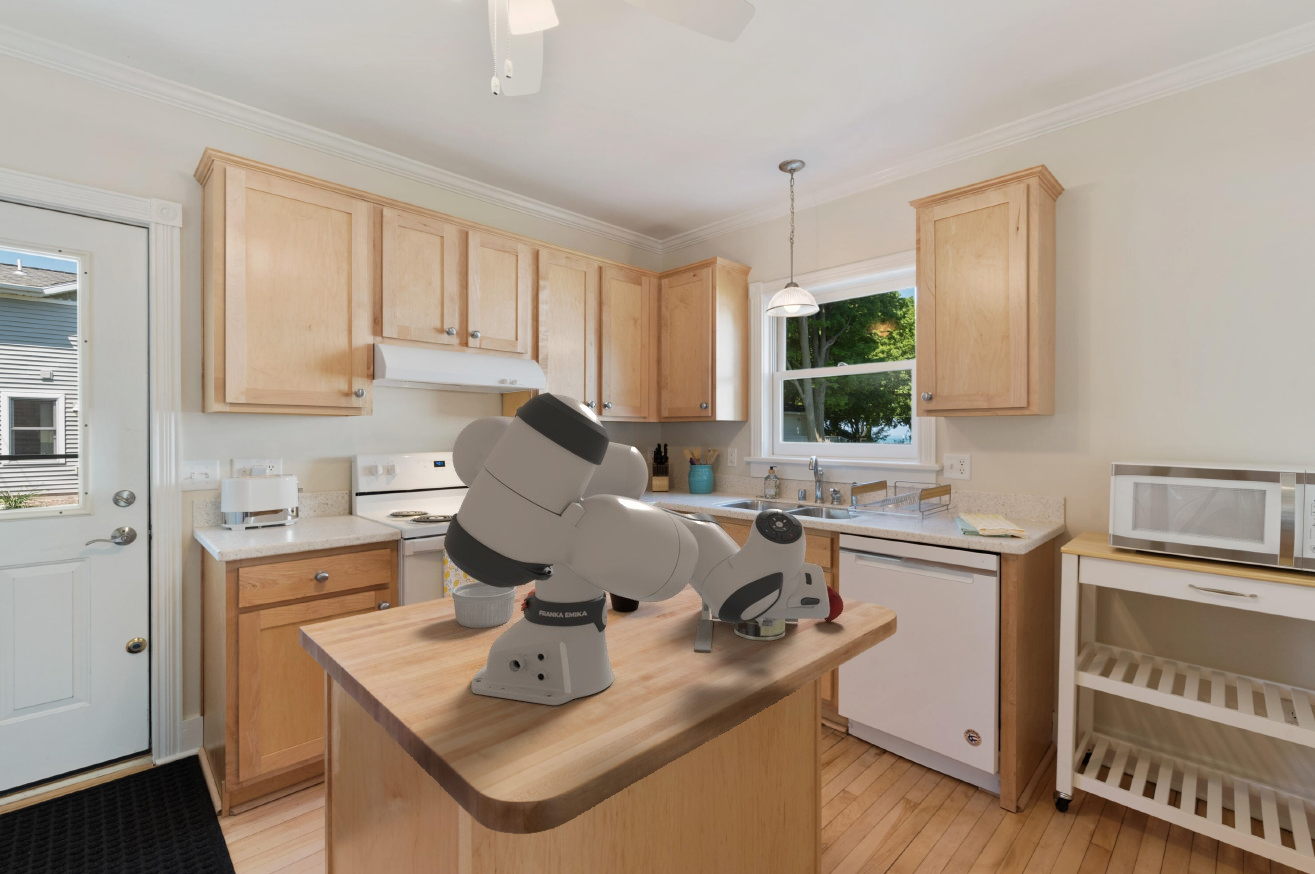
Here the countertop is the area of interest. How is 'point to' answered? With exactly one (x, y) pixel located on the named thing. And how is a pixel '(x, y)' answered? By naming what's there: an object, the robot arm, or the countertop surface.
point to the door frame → (704, 630)
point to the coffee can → (760, 630)
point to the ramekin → (483, 604)
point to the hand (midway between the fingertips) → (766, 622)
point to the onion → (834, 604)
